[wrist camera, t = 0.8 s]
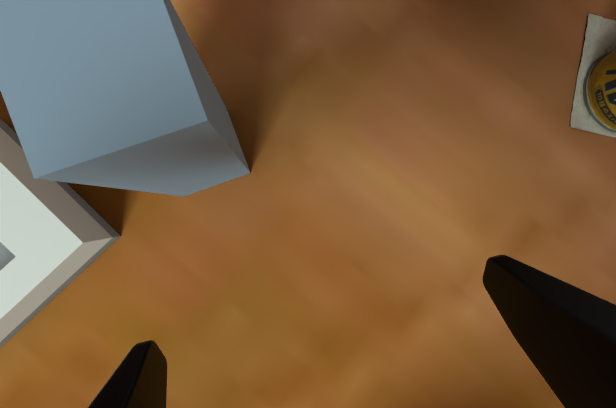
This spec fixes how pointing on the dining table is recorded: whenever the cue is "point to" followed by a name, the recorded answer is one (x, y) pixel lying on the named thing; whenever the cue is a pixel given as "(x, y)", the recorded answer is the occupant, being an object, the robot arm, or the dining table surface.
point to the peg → (114, 97)
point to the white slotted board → (40, 237)
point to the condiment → (597, 80)
